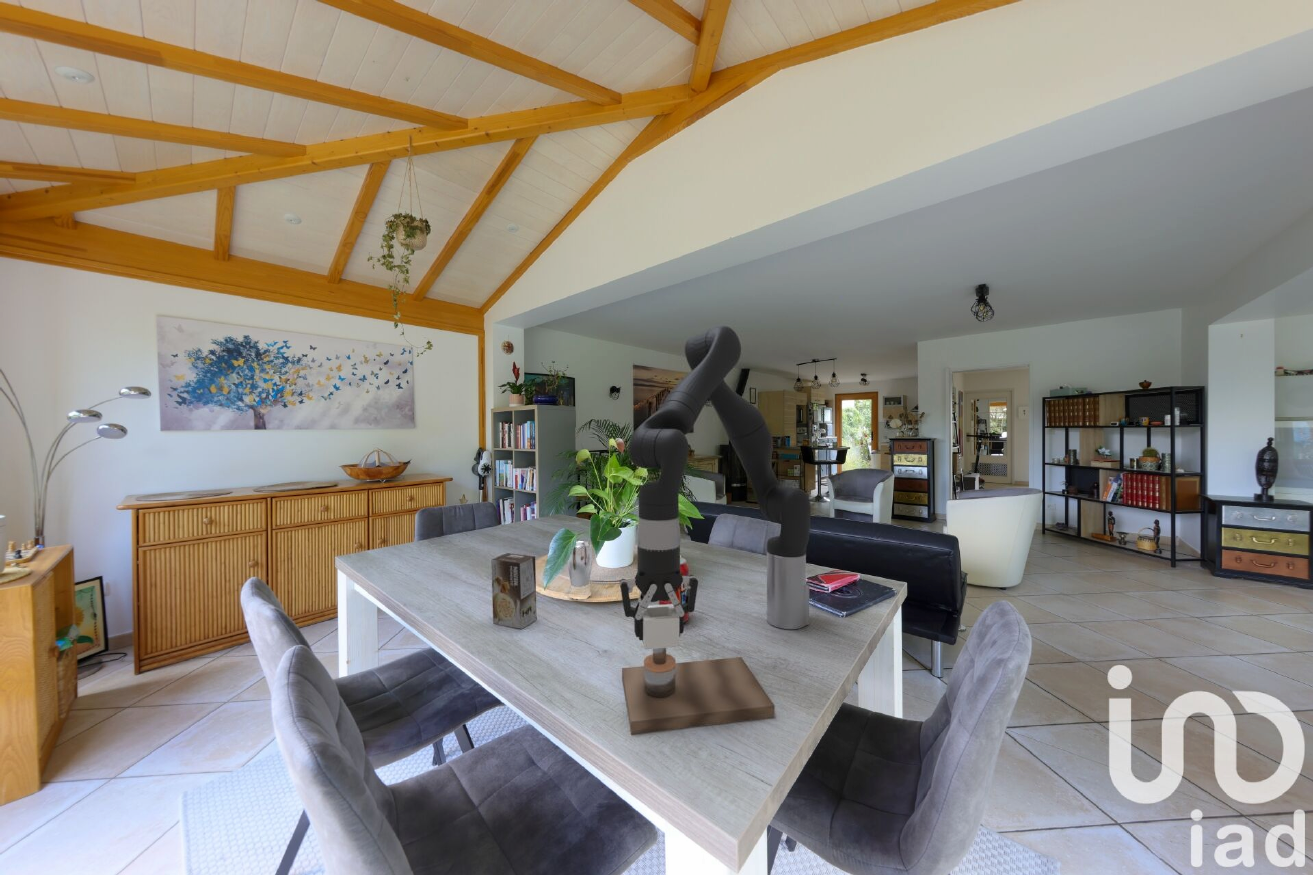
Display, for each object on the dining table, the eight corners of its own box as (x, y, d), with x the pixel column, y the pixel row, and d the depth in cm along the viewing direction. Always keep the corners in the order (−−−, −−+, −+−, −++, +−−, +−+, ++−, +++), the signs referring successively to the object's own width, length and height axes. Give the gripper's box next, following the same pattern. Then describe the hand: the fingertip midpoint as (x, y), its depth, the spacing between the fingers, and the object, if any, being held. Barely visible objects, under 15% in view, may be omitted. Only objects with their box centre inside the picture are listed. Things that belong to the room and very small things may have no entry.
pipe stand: (741, 666, 92) (741, 607, 92) (774, 717, 76) (774, 646, 76) (622, 678, 88) (621, 616, 88) (631, 733, 72) (630, 659, 72)
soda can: (652, 617, 116) (651, 558, 115) (678, 610, 119) (678, 553, 119) (668, 629, 109) (667, 566, 108) (695, 622, 113) (695, 561, 112)
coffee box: (538, 619, 115) (537, 555, 114) (521, 629, 109) (520, 563, 108) (508, 613, 118) (507, 552, 118) (491, 623, 112) (490, 559, 112)
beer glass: (581, 602, 125) (580, 548, 125) (562, 597, 129) (561, 544, 128) (597, 594, 131) (597, 542, 131) (579, 589, 135) (578, 539, 134)
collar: (672, 630, 84) (672, 604, 84) (679, 646, 78) (679, 617, 78) (640, 633, 83) (640, 606, 83) (644, 649, 77) (644, 620, 77)
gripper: (693, 535, 85) (693, 624, 86) (616, 538, 83) (616, 630, 83) (704, 546, 78) (704, 643, 78) (619, 550, 75) (620, 650, 76)
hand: (658, 636), depth 81 cm, fingers closed on collar, 6 cm apart
